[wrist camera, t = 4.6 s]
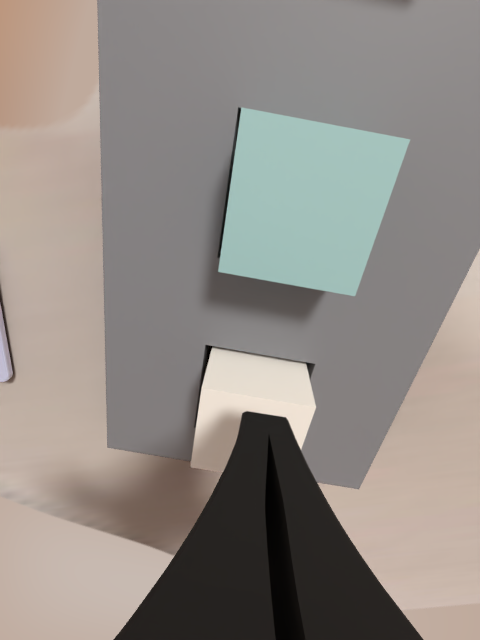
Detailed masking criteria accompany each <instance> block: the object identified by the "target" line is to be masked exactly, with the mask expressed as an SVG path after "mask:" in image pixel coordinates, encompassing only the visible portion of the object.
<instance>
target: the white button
mask: <svg viewBox="0 0 480 640" xmlns="http://www.w3.org/2000/svg"><path fill="white" fill-rule="evenodd" d="M315 409H316V405H315V400H314V396H313V392H312V387H311V383H310V378H309V374H308V370H307V365H306V362H302V361H296V360H290V359H285V358H279V357H273V356H267V355H262V354H256V353H250V352H244V351H239V350H233V349H227V348H221V347H216V346H212V350H211V354H210V358H209V361H208V365H207V369H206V373H205V377H204V380H203V384H202V388H201V395H200V402H199V409H198V416H197V423H196V430H195V438H194V445H193V452H192V459H191V466H190V467H191V468H197V469H203V470H209V471H215V472H221V473H223V471H224V469H225V467H226V465H227V462H228V460H229V458H230V455H231V453H232V450H233V448H234V445H235V443H236V440H237V436H238V431H239V427H240V422H241V417H242V413H244V412H246V411H250V412H256V413H262V414H268V415H275V416H281V417H286V418H287V419H288V421H289V423H290V426H291V428H292V431H293V433H294V436H295V438H296V440H297V443H298V445H299V447H300V449H302V446H303V443H304V440H305V437H306V434H307V432H308V429H309V426H310V423H311V420H312V417H313V415H314V412H315Z"/></svg>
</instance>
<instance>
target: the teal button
mask: <svg viewBox="0 0 480 640" xmlns="http://www.w3.org/2000/svg"><path fill="white" fill-rule="evenodd" d="M409 142H410V139H405V138H400V137H395V136H389V135H384V134H379V133H374V132H368V131H363V130H358V129H353V128H347V127H342V126H337V125H332V124H326V123H321V122H316V121H311V120H305V119H300V118H295V117H290V116H284V115H279V114H274V113H268V112H263V111H258V110H253V109H247V108H242V107H241V114H240V121H239V128H238V135H237V142H236V149H235V156H234V163H233V170H232V177H231V184H230V191H229V199H228V206H227V213H226V220H225V227H224V234H223V241H222V248H221V255H220V262H219V269H218V272H222V273H227V274H233V275H238V276H244V277H250V278H255V279H261V280H266V281H272V282H278V283H283V284H289V285H294V286H300V287H306V288H311V289H317V290H322V291H328V292H333V293H339V294H345V295H350V296H355V295H356V292H357V289H358V287H359V284H360V281H361V278H362V275H363V272H364V270H365V267H366V264H367V261H368V258H369V255H370V252H371V250H372V247H373V244H374V241H375V238H376V235H377V233H378V230H379V227H380V224H381V221H382V218H383V216H384V213H385V210H386V207H387V204H388V201H389V198H390V196H391V193H392V190H393V187H394V184H395V181H396V179H397V176H398V173H399V170H400V167H401V164H402V161H403V159H404V156H405V153H406V150H407V147H408V144H409Z"/></svg>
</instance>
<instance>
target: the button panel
mask: <svg viewBox="0 0 480 640" xmlns="http://www.w3.org/2000/svg"><path fill="white" fill-rule="evenodd" d="M97 2H98V3H97V4H98V44H99V45H98V46H99V92H100V137H101V181H102V226H103V270H104V315H105V359H106V404H107V448H113V449H119V450H125V451H131V452H137V453H143V454H149V455H155V456H161V457H167V458H173V459H179V460H185V461H191V459H192V452H193V445H194V438H195V430H196V423H197V416H198V409H199V402H200V395H201V388H202V384H203V380H204V373H205V366H206V359H207V352H208V345H210V346H216V347H221V348H227V349H233V350H239V351H244V352H250V353H256V354H262V355H267V356H273V357H279V358H285V359H290V360H296V361H302V362H306V365H307V370H308V374H309V378H310V383H311V387H312V392H313V396H314V400H315V405H316V409H315V412H314V415H313V417H312V420H311V423H310V426H309V429H308V432H307V434H306V437H305V440H304V443H303V446H302V449H301V451H302V454H303V456H304V458H305V460H306V462H307V464H308V466H309V468H310V470H311V472H312V474H313V476H314V478H315V480H316V482H318V483H324V484H330V485H336V486H342V487H348V488H354V489H359V488H360V486H361V484H362V482H363V480H364V478H365V476H366V474H367V472H368V470H369V468H370V466H371V464H372V462H373V460H374V458H375V456H376V454H377V452H378V450H379V448H380V446H381V444H382V442H383V440H384V438H385V436H386V434H387V432H388V430H389V428H390V426H391V424H392V422H393V420H394V418H395V416H396V414H397V412H398V410H399V408H400V406H401V404H402V402H403V400H404V398H405V396H406V394H407V392H408V390H409V388H410V386H411V384H412V382H413V380H414V378H415V376H416V374H417V372H418V370H419V368H420V366H421V364H422V362H423V360H424V358H425V356H426V354H427V352H428V350H429V348H430V346H431V344H432V342H433V340H434V338H435V336H436V334H437V332H438V330H439V328H440V326H441V324H442V322H443V320H444V318H445V316H446V314H447V312H448V310H449V308H450V306H451V305H452V303H453V301H454V299H455V297H456V295H457V293H458V291H459V289H460V287H461V285H462V283H463V281H464V279H465V277H466V275H467V273H468V271H469V269H470V267H471V265H472V263H473V261H474V259H475V257H476V255H477V253H478V251H479V249H480V0H97ZM241 107H242V108H247V109H253V110H258V111H263V112H268V113H274V114H279V115H284V116H290V117H295V118H300V119H305V120H311V121H316V122H321V123H326V124H332V125H337V126H342V127H347V128H353V129H358V130H363V131H368V132H374V133H379V134H384V135H389V136H395V137H400V138H405V139H410V142H409V144H408V147H407V150H406V153H405V156H404V159H403V161H402V164H401V167H400V170H399V173H398V176H397V179H396V181H395V184H394V187H393V190H392V193H391V196H390V198H389V201H388V204H387V207H386V210H385V213H384V216H383V218H382V221H381V224H380V227H379V230H378V233H377V235H376V238H375V241H374V244H373V247H372V250H371V252H370V255H369V258H368V261H367V264H366V267H365V270H364V272H363V275H362V278H361V281H360V284H359V287H358V289H357V292H356V295H355V296H350V295H345V294H339V293H333V292H328V291H322V290H317V289H311V288H306V287H300V286H294V285H289V284H283V283H278V282H272V281H266V280H261V279H255V278H250V277H244V276H238V275H233V274H227V273H222V272H218V269H219V262H220V255H221V248H222V241H223V234H224V227H225V220H226V213H227V206H228V199H229V191H230V184H231V177H232V170H233V163H234V156H235V149H236V142H237V135H238V128H239V121H240V114H241Z"/></svg>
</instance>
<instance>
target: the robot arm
mask: <svg viewBox="0 0 480 640" xmlns="http://www.w3.org/2000/svg"><path fill="white" fill-rule="evenodd" d="M12 376H13V371H12V366H11V360H10V354H9V349H8V343H7V338H6V332H5V326H4V321H3V315H2V310H1V304H0V382H5V381H8V380H9V379H10V378H11V377H12ZM114 640H423V639H422V637H421V636H420V635H419V633H418V632H417V631H416V629H415V628H414V627H413V626H412V624H411V623H410V622H409V620H408V619H407V618H406V616H405V615H404V614H403V613H402V611H401V610H400V609H399V607H398V606H397V605H396V603H395V602H394V601H393V599H392V598H391V597H390V596H389V594H388V593H387V592H386V590H385V589H384V588H383V586H382V585H381V584H380V582H379V581H378V579H377V578H376V577H375V575H374V574H373V572H372V571H371V569H370V568H369V567H368V565H367V564H366V562H365V561H364V559H363V558H362V556H361V555H360V553H359V552H358V550H357V549H356V547H355V546H354V544H353V543H352V541H351V540H350V538H349V537H348V535H347V534H346V532H345V530H344V529H343V527H342V526H341V524H340V522H339V521H338V519H337V517H336V516H335V514H334V512H333V511H332V509H331V507H330V505H329V504H328V502H327V500H326V498H325V497H324V495H323V493H322V491H321V489H320V487H319V486H318V484H317V482H316V480H315V478H314V476H313V474H312V472H311V470H310V468H309V466H308V464H307V462H306V460H305V458H304V456H303V454H302V451H301V449H300V447H299V445H298V443H297V440H296V438H295V436H294V433H293V431H292V428H291V426H290V423H289V421H288V419H287V418H286V417H281V416H275V415H268V414H262V413H256V412H250V411H246V412H244V413H242V417H241V422H240V427H239V431H238V436H237V440H236V443H235V445H234V448H233V450H232V453H231V455H230V458H229V460H228V462H227V465H226V467H225V469H224V471H223V473H222V475H221V477H220V479H219V481H218V483H217V485H216V487H215V489H214V491H213V493H212V495H211V497H210V499H209V501H208V502H207V504H206V506H205V508H204V510H203V511H202V513H201V515H200V517H199V518H198V520H197V522H196V523H195V525H194V527H193V528H192V530H191V531H190V533H189V535H188V536H187V538H186V539H185V541H184V542H183V544H182V546H181V547H180V549H179V550H178V552H177V553H176V555H175V556H174V558H173V559H172V561H171V562H170V564H169V565H168V567H167V568H166V570H165V571H164V573H163V574H162V575H161V577H160V578H159V580H158V581H157V583H156V584H155V585H154V587H153V588H152V589H151V591H150V592H149V593H148V595H147V596H146V598H145V599H144V600H143V602H142V603H141V604H140V606H139V607H138V609H137V610H136V612H135V613H134V614H133V616H132V617H131V618H130V619H129V621H128V622H127V623H126V625H125V626H124V627H123V629H122V630H121V631H120V632H119V634H118V635H117V636H116V637H115V639H114Z"/></svg>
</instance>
